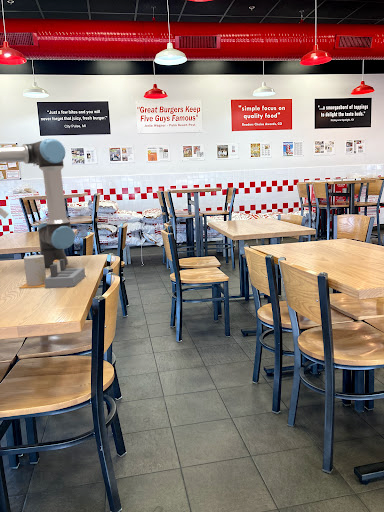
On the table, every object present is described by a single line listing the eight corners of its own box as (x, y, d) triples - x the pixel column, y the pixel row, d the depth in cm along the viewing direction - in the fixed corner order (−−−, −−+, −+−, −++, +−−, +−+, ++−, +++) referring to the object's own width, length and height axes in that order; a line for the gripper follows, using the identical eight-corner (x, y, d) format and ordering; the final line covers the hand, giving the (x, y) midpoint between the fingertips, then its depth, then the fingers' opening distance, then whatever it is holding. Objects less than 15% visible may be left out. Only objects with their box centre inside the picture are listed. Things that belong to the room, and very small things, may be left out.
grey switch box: (59, 277, 200) (57, 258, 198) (85, 276, 200) (83, 257, 198) (45, 288, 180) (43, 267, 179) (73, 286, 180) (71, 265, 179)
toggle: (56, 271, 191) (55, 259, 190) (60, 271, 191) (59, 259, 190) (54, 273, 188) (52, 261, 187) (58, 272, 188) (57, 260, 187)
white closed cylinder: (40, 285, 182) (37, 258, 180) (23, 285, 184) (19, 258, 182) (50, 281, 190) (47, 254, 188) (33, 281, 192) (30, 255, 190)
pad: (29, 282, 193) (29, 281, 193) (53, 281, 193) (53, 280, 193) (19, 288, 182) (19, 287, 182) (45, 287, 182) (45, 286, 182)
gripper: (-30, 190, 197) (6, 221, 200) (-61, 191, 173) (-19, 227, 175) (-20, 177, 196) (16, 209, 199) (-50, 177, 172) (-8, 213, 174)
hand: (0, 217), depth 187 cm, fingers open, 13 cm apart
